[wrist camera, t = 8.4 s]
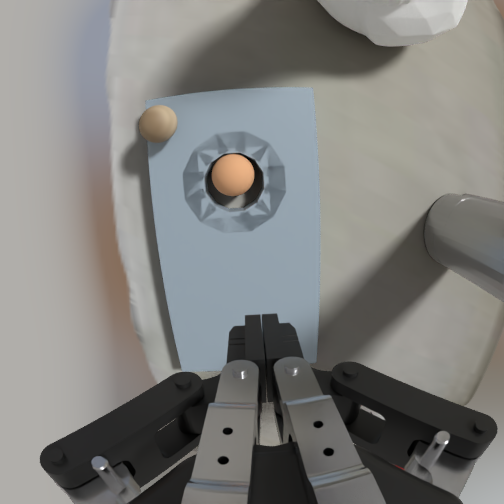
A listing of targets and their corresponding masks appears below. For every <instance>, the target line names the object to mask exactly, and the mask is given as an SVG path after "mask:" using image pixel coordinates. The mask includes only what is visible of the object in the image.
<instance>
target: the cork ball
mask: <svg viewBox="0 0 504 504" xmlns="http://www.w3.org/2000/svg"><path fill="white" fill-rule="evenodd" d="M177 124H178V121H177V116H176V114H175V113H174V111H173V110H172V109H171V108H169V107H167V106H164V105H155V106H152V107H150V108H148V109H147V110H146V111H145V112H144V113H143V114H142V116H141V118H140V120H139V130H140V133H141V135H142V136H143V137H144V138H145V139H146V140H148V141H150V142H153V143H161V142H164V141H166V140H168V139H169V138H171V137H172V136H173V134H174V133H175V131H176V129H177Z"/></svg>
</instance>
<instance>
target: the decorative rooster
mask: <svg viewBox="0 0 504 504" xmlns="http://www.w3.org/2000/svg"><path fill="white" fill-rule="evenodd" d="M317 1H318V2H319V3H320V4H321V5H322V6H323V7H324V8H325V9H326V10H327V12H328V13H329V14H330V15H331V16H332V17H333V18H335V19H336V20H337V21H338V22H340V23H341V24H343V25H344V26H346V27H348V28H350V29H352V30H354V31H356V32H358V33H361V34H363V35H365V36H367V37H368V38H369V39H370V40H371V41H372V42H373V43H375V44H376V45H380V46H409V45H414V44H420V43H425V42H428V41H430V40H432V39H434V38H435V37H437V36H439V35H441V34H443V33H445V32H447V31H449V30H451V29H453V28H455V27H456V26H457V25H458V23H459V21H460V19H461V17H462V15H463V13H464V10H465V7H466V4H467V1H468V0H317Z"/></svg>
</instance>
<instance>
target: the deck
mask: <svg viewBox="0 0 504 504" xmlns="http://www.w3.org/2000/svg"><path fill="white" fill-rule="evenodd" d="M155 105H164V106H167V107H169V108H171V109H172V110H173V111H174V113H175V114H176V116H177V121H178V124H177V129H176V131H175V133H174V134H173V136H172V137H171V138H169V139H168V140H166V141H164V142H161V143H153V142H150V141H148V140H147V146H148V161H149V174H150V185H151V195H152V205H153V213H154V222H155V230H156V237H157V244H158V251H159V258H160V264H161V270H162V277H163V282H164V288H165V294H166V299H167V304H168V310H169V315H170V320H171V324H172V329H173V334H174V338H175V343H176V347H177V352H178V356H179V360H180V364H181V369H182V372H189V371H222V368H223V367H224V366H225V365H226V362H227V350H228V340H229V331H230V330H231V329H232V328H233V327H234V326H243V325H245V315H256V314H260V316H261V326H262V314H272V313H277V315H278V320H279V323H290V324H291V325H292V326H293V327H295V329H296V333H297V336H298V339H299V343H300V346H301V350H302V353H303V356H304V359H305V360H306V361H308V362H309V364H311V363H316V359H317V344H318V325H319V299H320V191H319V165H318V147H317V131H316V117H315V105H314V94H313V88H304V87H268V88H244V89H229V90H217V91H207V92H198V93H190V94H183V95H176V96H169V97H163V98H157V99H152V100H146V110H147V109H148V108H150V107H152V106H155ZM229 154H242V155H244V156H246V157H248V158H250V159H252V160H254V162H255V163H256V165H257V166H258V168H259V169H260V171H261V172H262V189H261V191H260V193H259V195H258V197H257V198H256V200H255V201H253V202H251V203H250V204H248V205H247V206H245V207H244V208H230V209H229V208H227V207H225V206H223V205H221V204H219V203H217V202H216V201H215V200H214V198H213V197H212V195H211V194H210V193H209V191H208V182H207V175H208V173H209V171H210V169H211V167H212V165H213V163H214V162H216V161H217V160H219V159H220V158H221V157H223V156H225V155H229Z"/></svg>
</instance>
